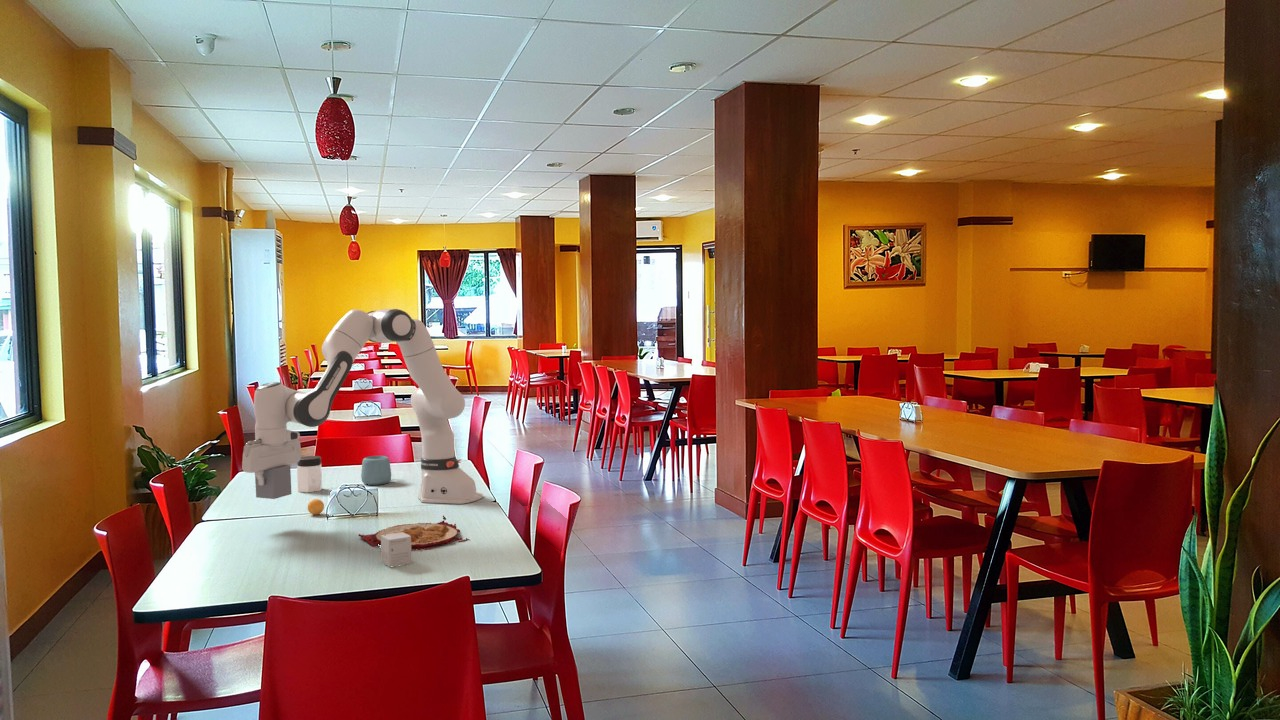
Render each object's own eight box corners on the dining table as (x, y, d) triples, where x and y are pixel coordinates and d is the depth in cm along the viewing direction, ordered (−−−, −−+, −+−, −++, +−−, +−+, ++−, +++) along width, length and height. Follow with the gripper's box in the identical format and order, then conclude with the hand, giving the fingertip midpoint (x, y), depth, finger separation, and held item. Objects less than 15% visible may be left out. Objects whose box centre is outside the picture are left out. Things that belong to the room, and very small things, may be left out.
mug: (372, 478, 346) (371, 453, 345) (399, 478, 345) (399, 453, 344) (356, 486, 331) (355, 459, 330) (384, 486, 330) (384, 459, 329)
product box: (389, 568, 225) (388, 539, 224) (380, 562, 230) (380, 534, 229) (412, 564, 228) (411, 536, 228) (403, 558, 233) (402, 531, 233)
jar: (302, 493, 318) (301, 460, 317) (293, 490, 323) (292, 457, 323) (326, 490, 324) (325, 457, 323) (317, 486, 330) (316, 454, 329)
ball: (327, 513, 286) (327, 498, 286) (316, 516, 281) (316, 501, 281) (315, 512, 288) (315, 497, 288) (304, 515, 283) (303, 500, 283)
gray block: (291, 494, 270) (290, 465, 269) (274, 499, 263) (272, 469, 262) (273, 492, 272) (272, 464, 272) (256, 497, 266) (254, 468, 265)
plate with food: (358, 541, 255) (357, 529, 255) (444, 525, 271) (443, 513, 270) (389, 561, 235) (388, 548, 235) (480, 543, 251) (479, 530, 250)
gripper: (252, 442, 256) (254, 489, 257) (303, 432, 274) (305, 476, 275) (235, 441, 258) (238, 488, 259) (287, 431, 277) (289, 475, 278)
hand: (273, 482), depth 267 cm, fingers closed on gray block, 7 cm apart
